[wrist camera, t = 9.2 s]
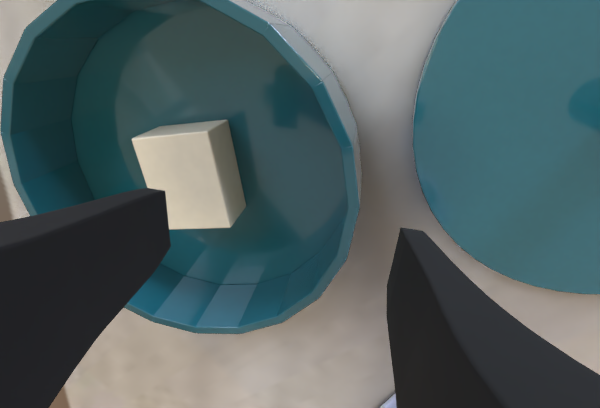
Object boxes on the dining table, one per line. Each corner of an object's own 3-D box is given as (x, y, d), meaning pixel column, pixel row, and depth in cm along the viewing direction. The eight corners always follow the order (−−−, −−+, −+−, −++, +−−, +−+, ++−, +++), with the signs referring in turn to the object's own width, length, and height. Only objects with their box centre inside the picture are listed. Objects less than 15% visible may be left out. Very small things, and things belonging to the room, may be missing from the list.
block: (228, 118, 18) (207, 131, 16) (247, 206, 20) (230, 228, 18) (159, 126, 19) (130, 138, 17) (184, 209, 21) (160, 230, 19)
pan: (279, 324, 24) (262, 378, 20) (55, 208, 24) (-6, 242, 20) (428, 101, 16) (445, 121, 13) (99, -84, 16) (12, -122, 12)
